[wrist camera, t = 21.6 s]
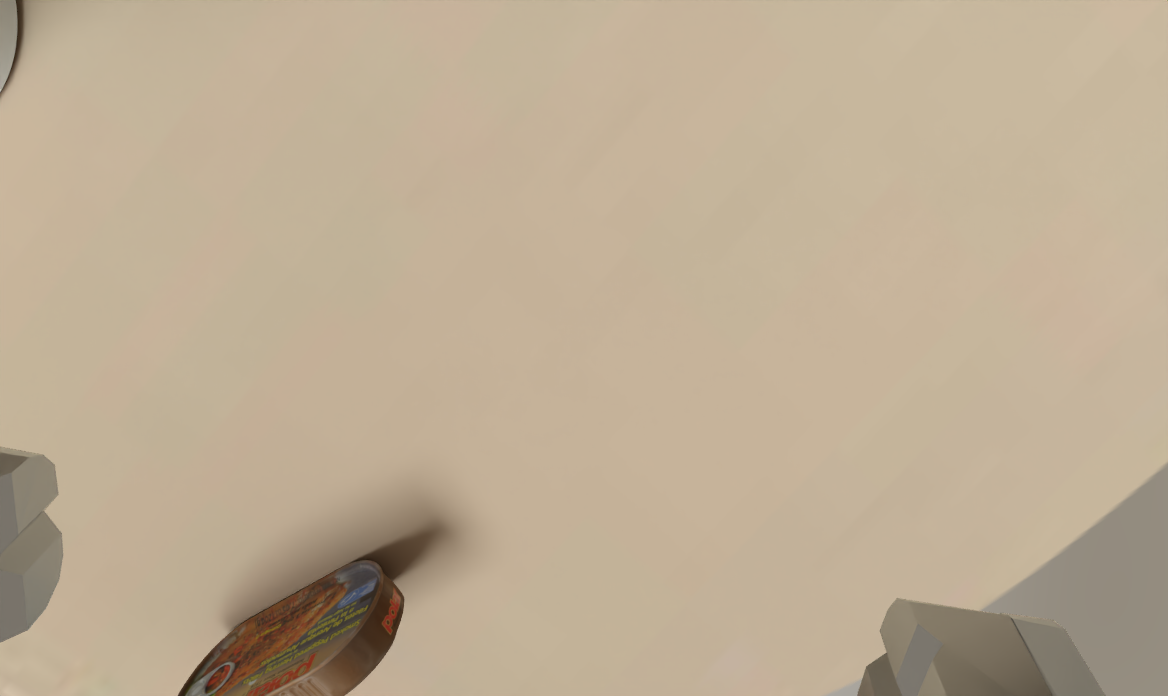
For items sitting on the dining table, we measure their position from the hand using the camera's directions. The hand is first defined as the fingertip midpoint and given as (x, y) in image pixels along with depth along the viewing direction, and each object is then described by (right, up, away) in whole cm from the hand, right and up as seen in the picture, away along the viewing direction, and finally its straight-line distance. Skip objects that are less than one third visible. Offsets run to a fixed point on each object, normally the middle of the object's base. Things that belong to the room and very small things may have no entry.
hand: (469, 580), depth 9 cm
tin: (-15, -13, +48) cm, 52 cm away
